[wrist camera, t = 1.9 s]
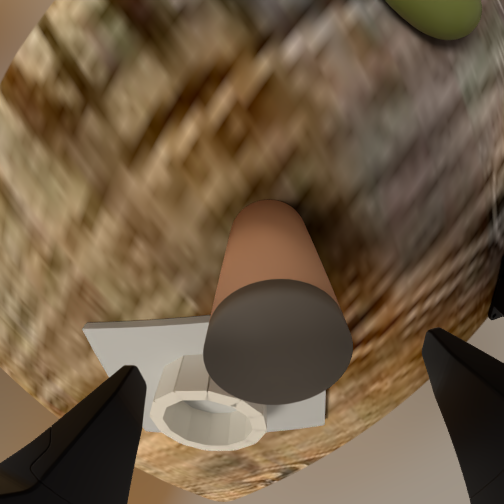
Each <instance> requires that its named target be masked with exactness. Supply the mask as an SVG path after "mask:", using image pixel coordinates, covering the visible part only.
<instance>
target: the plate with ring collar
mask: <svg viewBox="0 0 504 504" xmlns="http://www.w3.org/2000/svg"><path fill="white" fill-rule="evenodd" d="M210 316H211V315H207V316H196V317H184V318H171V319H157V320H141V321H123V322H99V323H86V324H85V326H84V327H83V328H82V330H83V331H84V333H85V335H86V337H87V339H88V341H89V343H90V345H91V347H92V348H93V350H94V352H95V354H96V356H97V357H98V359H99V361H100V363H101V364H102V366H103V368H104V369H105V371H106V373H107V374H108V376H109V377H111V376H112V375H113V374H114V373H115V372H116V371H118V370H119V369H120V368H121V367H122V366H124V365H135V366H137V367H138V369H139V371H140V373H141V374H142V376H143V378H144V380H145V382H146V385H147V392H146V399H145V408H144V417H143V425H142V426H143V428H144V429H145V430H146V431H149V432H162V433H163V434H165V435H167V436H168V437H170V438H172V439H173V440H175V441H177V442H179V443H182V444H183V445H187V446H191V447H194V448H198V449H202V450H208V451H233V450H238V449H241V448H244V447H247V446H250V445H253V444H255V443H257V442H258V441H259V439H260V438H261V437H262V436H263V435H264V434H265V433H266V432H273V431H283V430H292V429H301V428H308V427H315V426H322V425H324V424H325V399H326V390H325V391H323V392H322V393H320V394H318V395H316V396H314V397H311V398H309V399H306V400H303V401H300V402H295V403H290V404H282V405H265V404H257V403H252V402H248V401H245V400H242V399H239V398H237V397H234V396H233V395H231V394H229V393H227V392H226V391H224V390H223V389H221V388H220V387H219V386H218V385H217V384H216V383H215V382H214V381H213V380H212V378H211V377H210V375H209V374H208V372H207V370H206V368H205V364H204V360H203V348H204V343H205V338H206V334H207V329H208V325H209V321H210Z"/></svg>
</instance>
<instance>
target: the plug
mask: <svg viewBox="0 0 504 504" xmlns="http://www.w3.org/2000/svg"><path fill="white" fill-rule="evenodd" d="M352 352H353V342H352V337H351V334H350V331H349V329H348V326H347V324H346V321H345V319H344V316H343V313H342V311H341V308H340V306H339V303H338V301H337V298H336V296H335V294H334V291H333V289H332V286H331V284H330V281H329V279H328V277H327V274H326V272H325V270H324V267H323V265H322V262H321V260H320V258H319V256H318V253H317V251H316V249H315V246H314V244H313V242H312V240H311V237H310V235H309V233H308V231H307V228H306V226H305V224H304V222H303V220H302V218H301V216H300V215H299V213H298V212H297V211H296V210H295V209H294V208H292V207H291V206H289V205H288V204H286V203H284V202H281V201H277V200H260V201H257V202H254V203H252V204H250V205H248V206H246V207H245V208H244V209H242V210H241V211H240V212H239V214H238V215H237V216H236V218H235V220H234V222H233V224H232V227H231V231H230V235H229V240H228V244H227V248H226V252H225V256H224V260H223V264H222V269H221V273H220V277H219V281H218V286H217V290H216V294H215V299H214V303H213V307H212V312H211V316H210V321H209V325H208V329H207V334H206V338H205V343H204V348H203V360H204V364H205V368H206V370H207V372H208V374H209V375H210V377H211V378H212V380H213V381H214V382H215V383H216V384H217V385H218V386H219V387H220V388H221V389H223V390H224V391H226V392H227V393H229V394H231V395H233V396H234V397H237V398H239V399H242V400H245V401H248V402H252V403H257V404H265V405H282V404H290V403H295V402H300V401H303V400H306V399H309V398H311V397H314V396H316V395H318V394H320V393H322V392H323V391H325V390H326V389H328V388H329V387H331V386H332V385H333V384H334V383H335V382H337V381H338V379H339V378H340V377H341V376H342V375H343V373H344V372H345V371H346V369H347V367H348V365H349V363H350V360H351V357H352Z"/></svg>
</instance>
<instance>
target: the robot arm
mask: <svg viewBox="0 0 504 504" xmlns="http://www.w3.org/2000/svg"><path fill="white" fill-rule="evenodd" d="M502 316H503V317H504V256H503V259H502V264H501V269H500V273H499V278H498V282H497V286H496V290H495V293H494V297H493V301H492V304H491V308H490V311H489V314H488V317H489V318H490V319H491V320H494V319H497V318H500V317H502ZM422 356H423V359H424V362H425V366H426V369H427V372H428V375H429V379H430V382H431V385H432V389H433V392H434V395H435V398H436V401H437V403H438V406H439V408H440V411H441V413H442V416H443V418H444V421H445V424H446V426H447V429H448V432H449V434H450V437H451V440H452V443H453V446H454V448H455V451H456V454H457V457H458V460H459V464H460V467H461V470H462V473H463V476H464V480H465V483H466V487H467V491H468V494H469V498H470V503H471V504H504V363H502V362H500V361H499V360H497V359H495V358H494V357H492V356H490V355H488V354H486V353H485V352H483V351H481V350H479V349H478V348H476V347H474V346H472V345H471V344H469V343H467V342H465V341H463V340H462V339H460V338H458V337H456V336H454V335H453V334H451V333H449V332H447V331H445V330H444V329H442V328H439V327H437V328H433V329H430V330H428V331H427V333H426V336H425V340H424V344H423V348H422ZM146 392H147V385H146V382H145V380H144V378H143V376H142V374H141V373H140V371H139V369H138V367H137V366H135V365H124V366H122V367H121V368H120V369H119V370H118V371H116V372H115V373H114V374H113V375H112V376H111V377H109V378H108V379H107V380H106V381H105V382H103V383H102V384H101V385H100V386H99V387H97V388H96V389H95V390H94V391H93V392H91V393H90V394H89V395H88V396H87V397H85V398H84V399H83V400H82V401H81V402H79V403H78V404H77V405H76V406H75V407H74V408H72V409H71V410H70V411H69V412H68V413H66V414H65V415H64V416H63V417H62V418H60V419H59V420H58V421H57V422H56V423H54V424H53V425H52V427H50V428H48V429H47V430H46V431H45V432H43V433H42V434H41V435H40V436H38V437H37V438H36V439H35V440H33V441H32V442H31V443H29V444H28V445H26V446H25V447H24V448H22V449H21V450H19V451H18V452H16V453H15V454H13V455H12V456H10V457H9V458H7V459H6V460H4V461H3V462H1V463H0V504H127V502H128V496H129V490H130V485H131V479H132V474H133V469H134V464H135V459H136V455H137V450H138V445H139V441H140V436H141V431H142V425H143V417H144V408H145V399H146Z"/></svg>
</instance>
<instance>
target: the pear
mask: <svg viewBox="0 0 504 504" xmlns="http://www.w3.org/2000/svg"><path fill="white" fill-rule="evenodd" d="M385 1H386V2H387V3H388V4H389V5H390V6H391V7H392V8H393V9H394V10H395V11H396V12H397V13H398V14H399V15H400V16H401V17H402V18H404V19H405V20H406V21H407V22H408V23H410V24H411V25H412V26H413V27H415V28H416V29H418V30H419V31H421V32H423V33H424V34H426V35H429V36H431V37H434V38H437V39H442V40H456V39H460V38H462V37H465V36H467V35H468V34H470V33H471V32H472V31H473V30H474V29H475V28H476V26H477V25H478V23H479V21H480V18H481V14H482V4H481V0H385Z"/></svg>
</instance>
